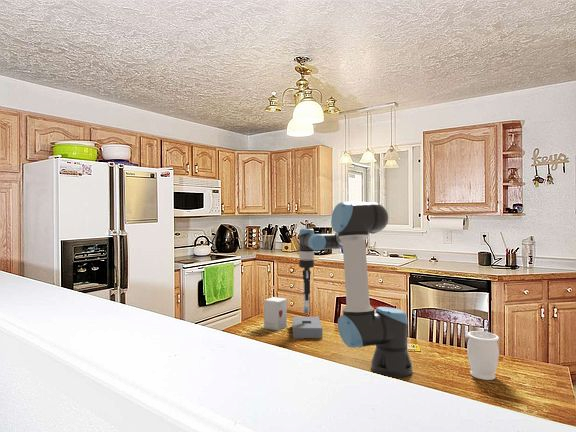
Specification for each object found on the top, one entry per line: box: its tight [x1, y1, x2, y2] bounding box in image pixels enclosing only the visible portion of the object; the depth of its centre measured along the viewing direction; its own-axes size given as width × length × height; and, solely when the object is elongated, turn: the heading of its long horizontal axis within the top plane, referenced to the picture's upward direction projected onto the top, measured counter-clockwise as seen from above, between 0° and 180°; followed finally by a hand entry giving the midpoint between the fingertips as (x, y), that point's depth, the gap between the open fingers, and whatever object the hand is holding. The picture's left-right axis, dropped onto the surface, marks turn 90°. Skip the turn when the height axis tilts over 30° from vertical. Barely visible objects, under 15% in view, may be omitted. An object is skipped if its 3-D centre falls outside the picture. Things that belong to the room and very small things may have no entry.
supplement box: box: [263, 296, 288, 331], centre depth 198 cm, size 9×9×15 cm
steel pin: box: [302, 282, 310, 314], centre depth 190 cm, size 3×3×15 cm
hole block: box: [291, 316, 323, 340], centre depth 190 cm, size 20×14×5 cm
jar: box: [466, 330, 500, 381], centre depth 138 cm, size 11×10×15 cm
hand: (306, 305), depth 190 cm, fingers closed on steel pin, 3 cm apart
